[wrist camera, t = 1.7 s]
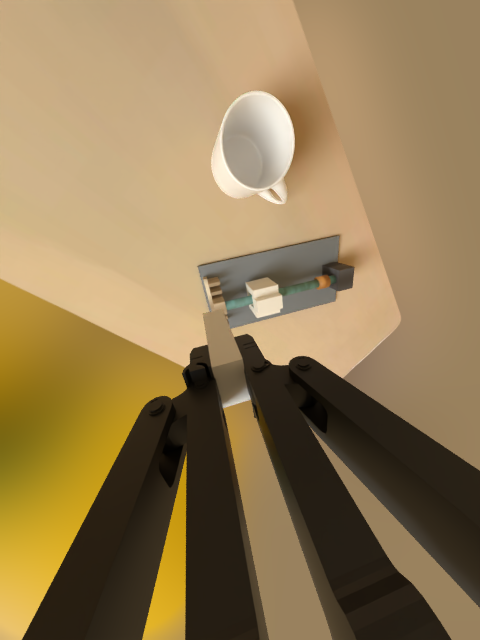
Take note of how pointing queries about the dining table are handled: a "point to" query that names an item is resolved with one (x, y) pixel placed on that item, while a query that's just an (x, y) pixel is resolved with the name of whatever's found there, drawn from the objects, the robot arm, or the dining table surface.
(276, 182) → the mug
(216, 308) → the comb rail
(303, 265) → the mat
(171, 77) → the dining table surface
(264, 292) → the sleeve
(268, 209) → the dining table surface
